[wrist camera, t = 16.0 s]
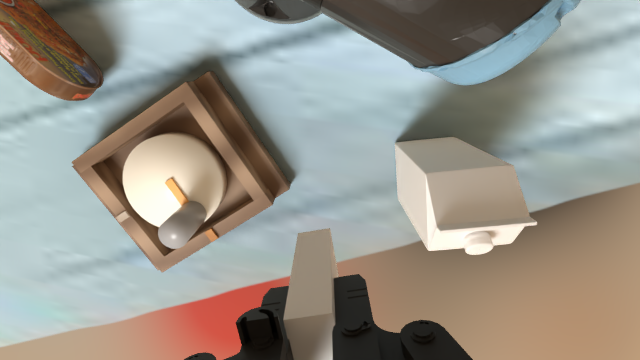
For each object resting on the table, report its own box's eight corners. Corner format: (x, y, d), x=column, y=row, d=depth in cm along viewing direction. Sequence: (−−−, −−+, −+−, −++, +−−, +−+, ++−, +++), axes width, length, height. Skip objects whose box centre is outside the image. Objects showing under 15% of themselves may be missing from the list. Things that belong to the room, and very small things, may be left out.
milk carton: (394, 142, 46) (439, 186, 28) (454, 136, 46) (539, 177, 28) (397, 198, 48) (441, 274, 30) (454, 193, 48) (535, 266, 29)
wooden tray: (82, 162, 47) (56, 172, 43) (213, 71, 44) (200, 71, 40) (164, 262, 51) (148, 281, 46) (290, 184, 48) (286, 196, 43)
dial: (113, 162, 45) (67, 182, 37) (190, 113, 43) (159, 122, 35) (170, 238, 47) (138, 272, 39) (245, 194, 46) (227, 220, 38)
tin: (117, 84, 45) (72, 87, 37) (100, 103, 46) (51, 109, 37) (13, -23, 42) (-62, -46, 34) (-5, -2, 43) (-82, -20, 35)
